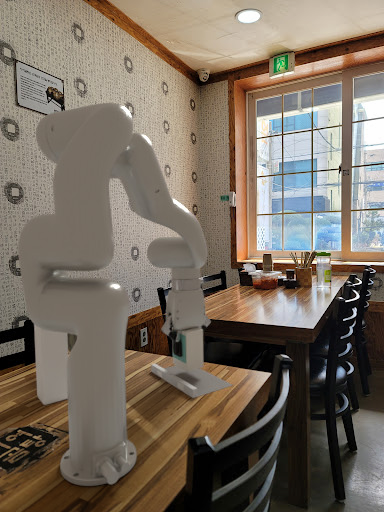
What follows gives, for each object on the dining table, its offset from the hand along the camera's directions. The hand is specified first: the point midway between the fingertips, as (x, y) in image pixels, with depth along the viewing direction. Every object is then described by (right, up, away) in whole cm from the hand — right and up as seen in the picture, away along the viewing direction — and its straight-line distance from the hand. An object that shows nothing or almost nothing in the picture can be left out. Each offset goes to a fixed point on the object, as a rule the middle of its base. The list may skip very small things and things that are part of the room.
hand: (187, 352), depth 97 cm
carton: (0, -3, 0) cm, 3 cm away
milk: (-32, -9, -8) cm, 34 cm away
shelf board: (+1, -8, -2) cm, 8 cm away
